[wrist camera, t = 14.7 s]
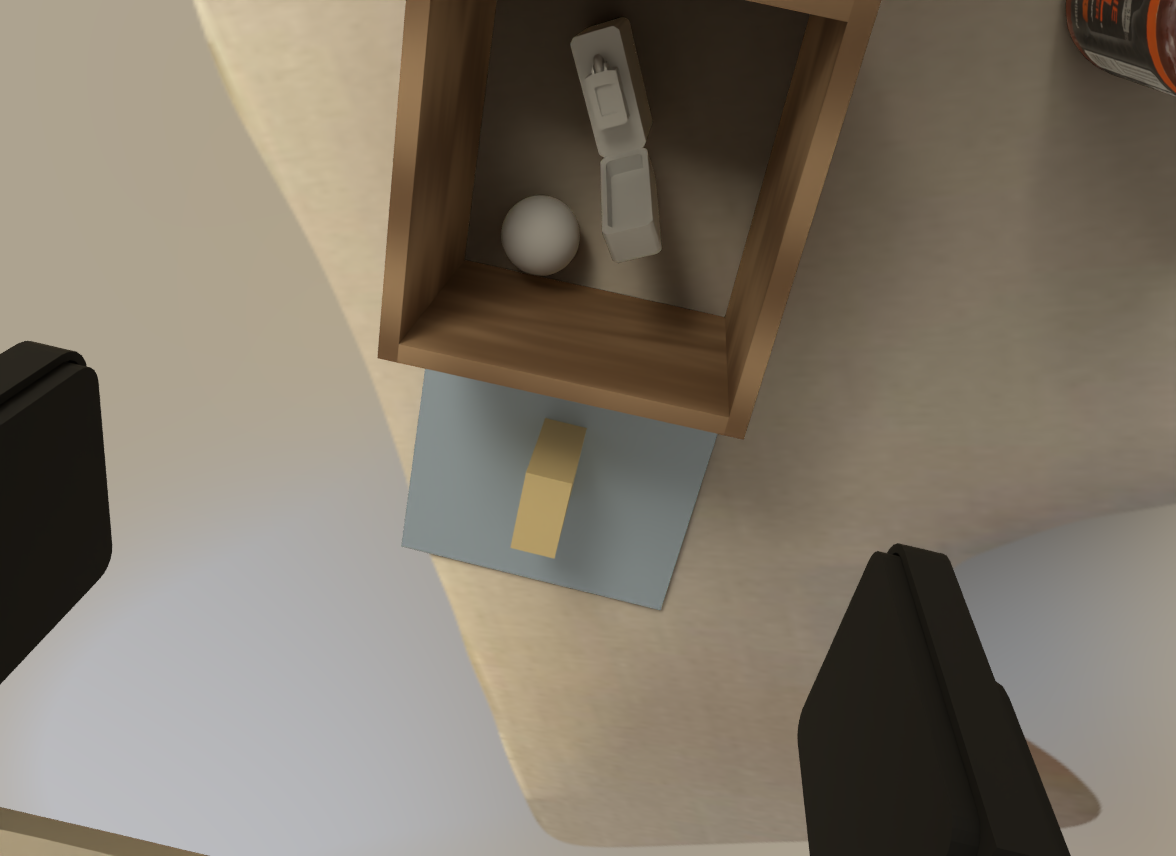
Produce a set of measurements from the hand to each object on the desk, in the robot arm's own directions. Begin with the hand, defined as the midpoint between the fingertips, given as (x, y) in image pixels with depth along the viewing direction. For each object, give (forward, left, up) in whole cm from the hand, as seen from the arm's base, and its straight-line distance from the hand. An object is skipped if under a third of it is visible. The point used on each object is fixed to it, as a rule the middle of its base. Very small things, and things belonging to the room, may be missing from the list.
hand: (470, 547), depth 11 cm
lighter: (0, 0, -29) cm, 29 cm away
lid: (+16, 0, -29) cm, 33 cm away
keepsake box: (+1, 0, -29) cm, 29 cm away
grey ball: (+5, -3, -29) cm, 29 cm away
